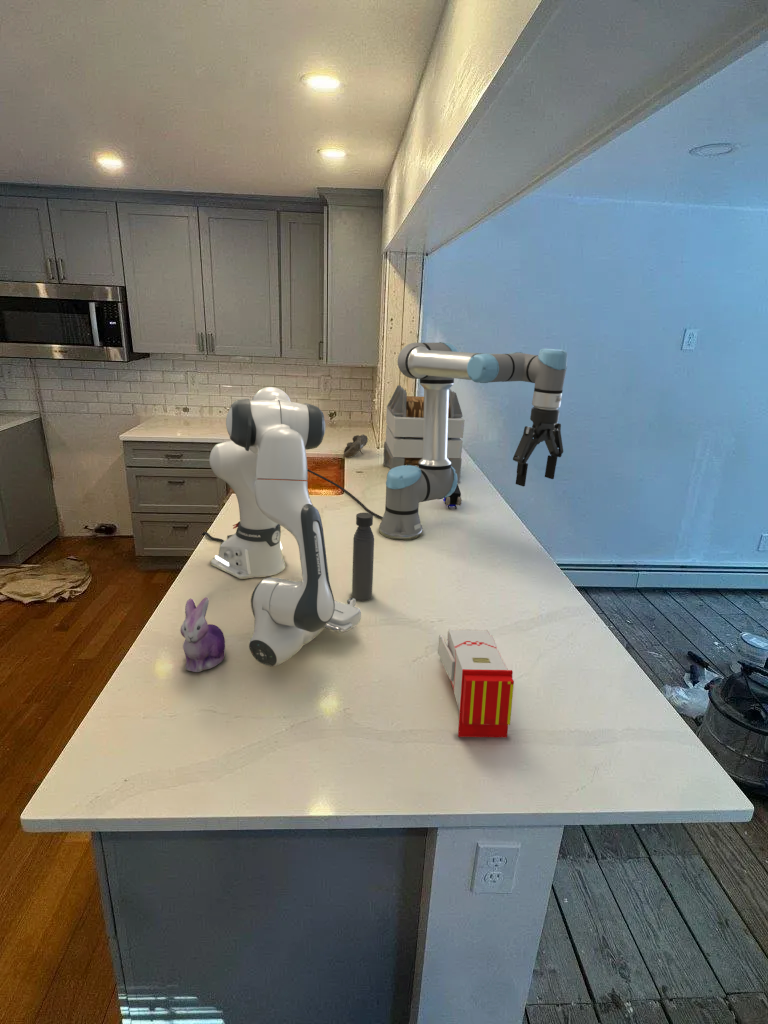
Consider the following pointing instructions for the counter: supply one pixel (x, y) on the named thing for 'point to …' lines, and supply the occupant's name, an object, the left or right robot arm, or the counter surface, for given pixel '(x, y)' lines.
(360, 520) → the cap
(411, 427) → the white wooden crate
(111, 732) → the counter surface
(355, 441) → the grey lumpy piece
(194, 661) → the figurine
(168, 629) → the counter surface
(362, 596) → the bottle
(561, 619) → the counter surface
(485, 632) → the toy
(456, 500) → the figurine character
